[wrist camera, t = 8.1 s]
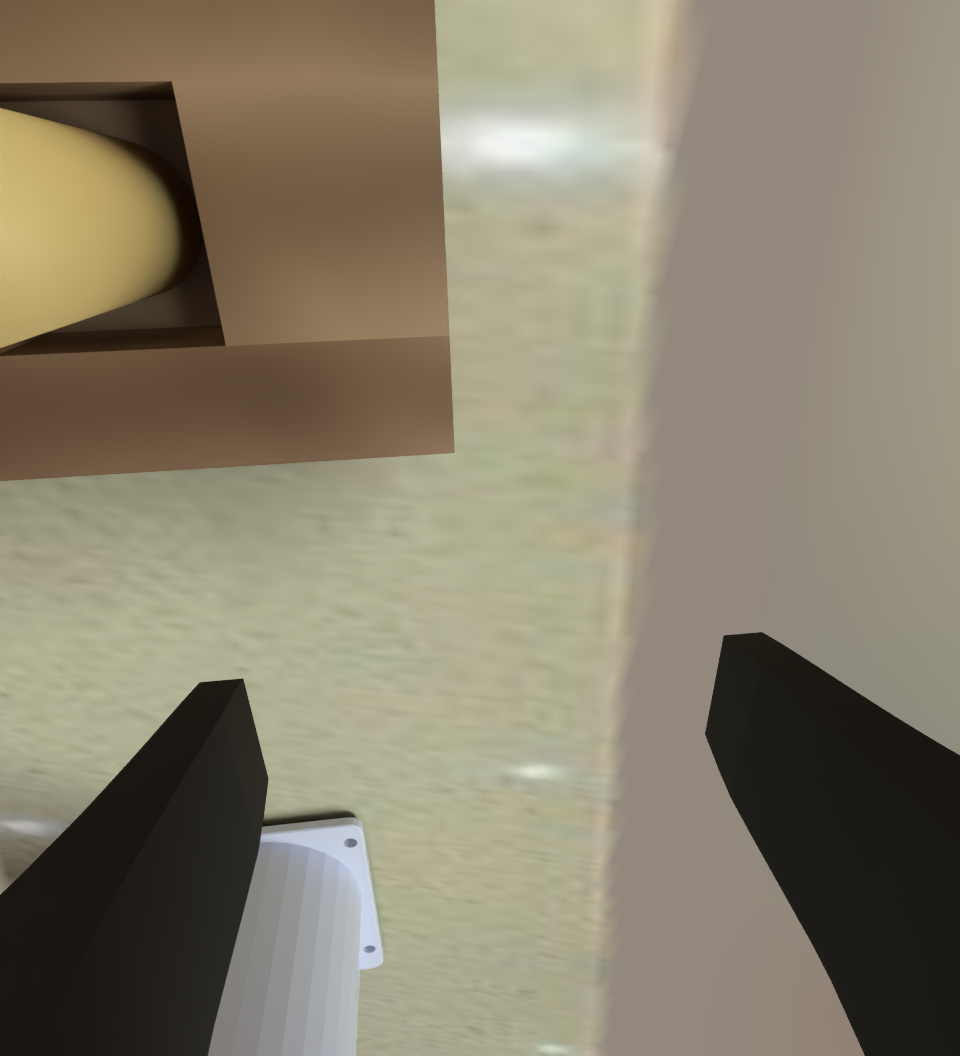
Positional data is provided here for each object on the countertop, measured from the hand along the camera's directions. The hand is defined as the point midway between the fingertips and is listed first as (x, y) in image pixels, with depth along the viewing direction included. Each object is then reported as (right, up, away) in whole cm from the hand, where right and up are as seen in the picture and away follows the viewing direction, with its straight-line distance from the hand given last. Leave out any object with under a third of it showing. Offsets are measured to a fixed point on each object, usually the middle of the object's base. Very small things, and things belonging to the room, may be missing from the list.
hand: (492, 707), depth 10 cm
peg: (-8, +10, +5) cm, 13 cm away
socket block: (-8, +10, +5) cm, 14 cm away
